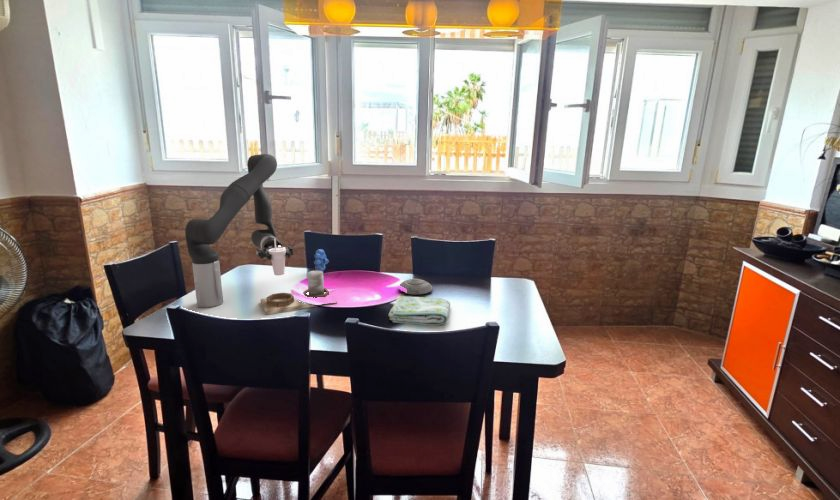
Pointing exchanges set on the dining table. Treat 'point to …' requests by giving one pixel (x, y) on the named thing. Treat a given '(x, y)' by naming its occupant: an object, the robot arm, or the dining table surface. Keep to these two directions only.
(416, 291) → the grey rounded dome
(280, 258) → the smoothie
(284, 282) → the dining table surface
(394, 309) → the towel
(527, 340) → the dining table surface
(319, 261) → the grapes
